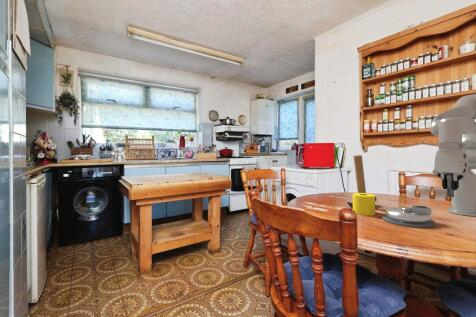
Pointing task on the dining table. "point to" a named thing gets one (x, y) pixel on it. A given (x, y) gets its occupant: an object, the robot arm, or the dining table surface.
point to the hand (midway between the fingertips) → (450, 189)
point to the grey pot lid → (410, 214)
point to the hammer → (359, 176)
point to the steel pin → (449, 185)
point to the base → (409, 223)
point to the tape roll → (364, 204)
